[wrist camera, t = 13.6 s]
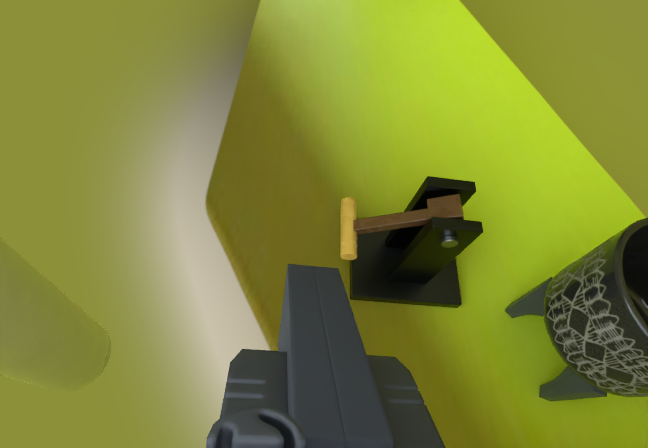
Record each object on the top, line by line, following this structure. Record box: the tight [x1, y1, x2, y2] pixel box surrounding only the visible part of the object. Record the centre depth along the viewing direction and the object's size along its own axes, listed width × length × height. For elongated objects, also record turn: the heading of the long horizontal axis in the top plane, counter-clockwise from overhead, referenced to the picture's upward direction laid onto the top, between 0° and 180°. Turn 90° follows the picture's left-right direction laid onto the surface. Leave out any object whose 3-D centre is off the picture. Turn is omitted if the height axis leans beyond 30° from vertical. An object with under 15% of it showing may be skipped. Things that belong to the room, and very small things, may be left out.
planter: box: [505, 218, 648, 401], centre depth 38 cm, size 13×13×18 cm
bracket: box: [350, 176, 483, 308], centre depth 42 cm, size 12×9×14 cm
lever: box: [340, 194, 464, 260], centre depth 39 cm, size 11×6×2 cm
